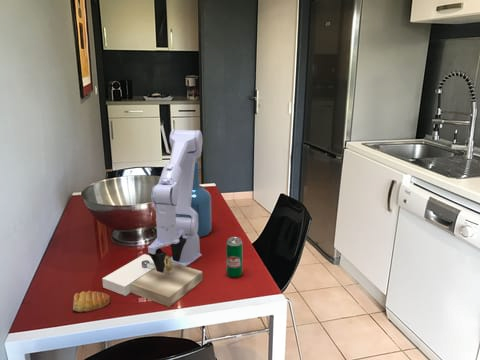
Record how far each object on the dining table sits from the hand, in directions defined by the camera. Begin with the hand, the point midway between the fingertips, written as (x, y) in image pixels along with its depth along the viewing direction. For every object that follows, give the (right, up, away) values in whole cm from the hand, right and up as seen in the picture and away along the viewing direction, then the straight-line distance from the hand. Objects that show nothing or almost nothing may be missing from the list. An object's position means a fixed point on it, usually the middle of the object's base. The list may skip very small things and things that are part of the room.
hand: (168, 265), depth 119 cm
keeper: (-2, -1, +3) cm, 4 cm away
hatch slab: (0, -6, -1) cm, 6 cm away
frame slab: (-11, -4, +4) cm, 12 cm away
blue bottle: (+4, +5, +38) cm, 38 cm away
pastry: (-20, -9, -10) cm, 24 cm away
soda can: (+20, -4, +6) cm, 21 cm away
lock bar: (-4, -2, +3) cm, 5 cm away
